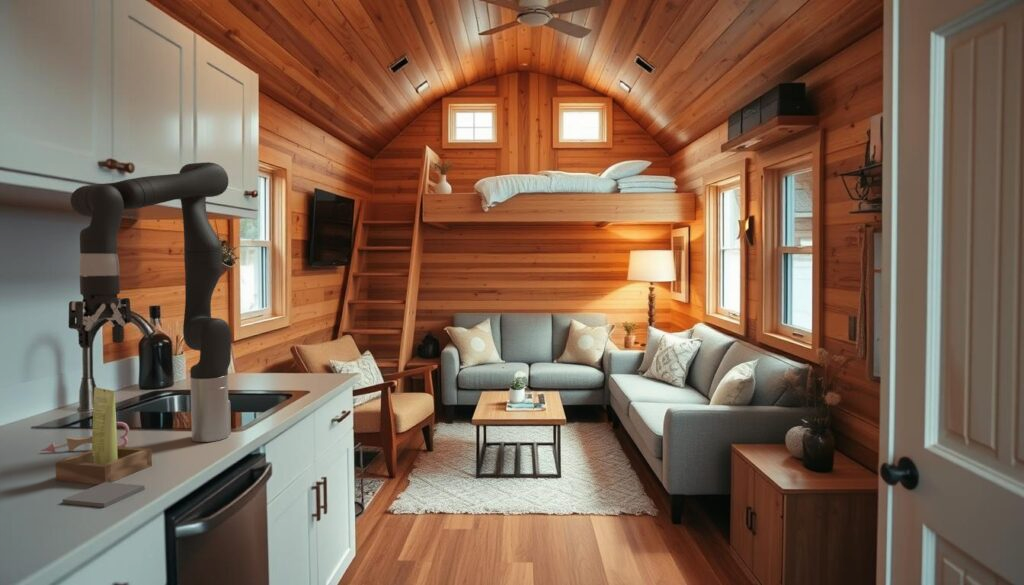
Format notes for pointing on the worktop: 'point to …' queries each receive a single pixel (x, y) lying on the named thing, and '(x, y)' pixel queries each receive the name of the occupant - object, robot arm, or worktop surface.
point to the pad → (103, 494)
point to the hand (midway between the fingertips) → (102, 345)
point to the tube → (104, 427)
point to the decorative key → (84, 441)
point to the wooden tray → (103, 466)
